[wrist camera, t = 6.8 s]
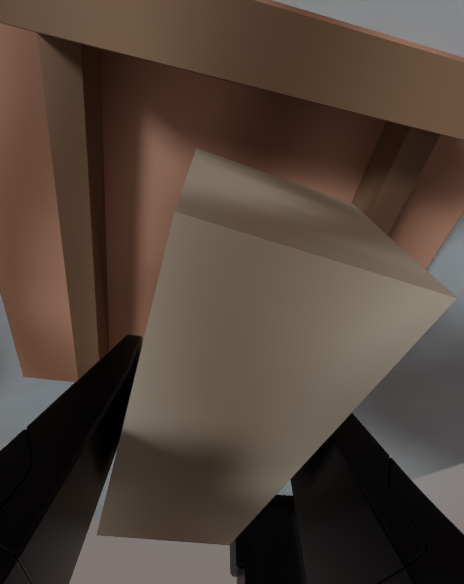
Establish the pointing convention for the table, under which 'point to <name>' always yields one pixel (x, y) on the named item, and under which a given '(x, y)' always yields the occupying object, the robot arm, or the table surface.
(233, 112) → the cradle
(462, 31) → the table surface
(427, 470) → the table surface
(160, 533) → the block
